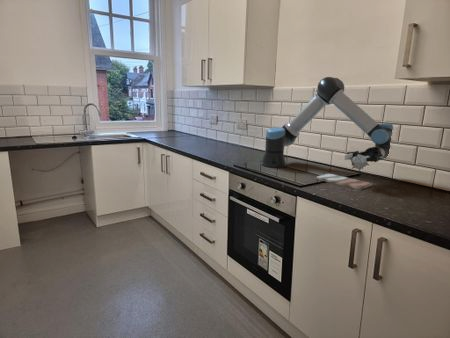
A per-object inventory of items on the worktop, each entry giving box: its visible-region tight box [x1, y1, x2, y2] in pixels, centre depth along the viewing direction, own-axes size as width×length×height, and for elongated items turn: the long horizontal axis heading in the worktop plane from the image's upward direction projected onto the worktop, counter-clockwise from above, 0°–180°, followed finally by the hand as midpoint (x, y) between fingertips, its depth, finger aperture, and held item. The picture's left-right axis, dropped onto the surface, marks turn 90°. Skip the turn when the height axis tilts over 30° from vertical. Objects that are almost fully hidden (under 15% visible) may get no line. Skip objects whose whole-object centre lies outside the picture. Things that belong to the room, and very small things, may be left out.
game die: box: [349, 152, 370, 170], centre depth 151 cm, size 9×8×10 cm
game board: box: [315, 173, 373, 191], centre depth 159 cm, size 25×13×1 cm, turn 41°
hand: (353, 158), depth 148 cm, fingers closed on game die, 8 cm apart
